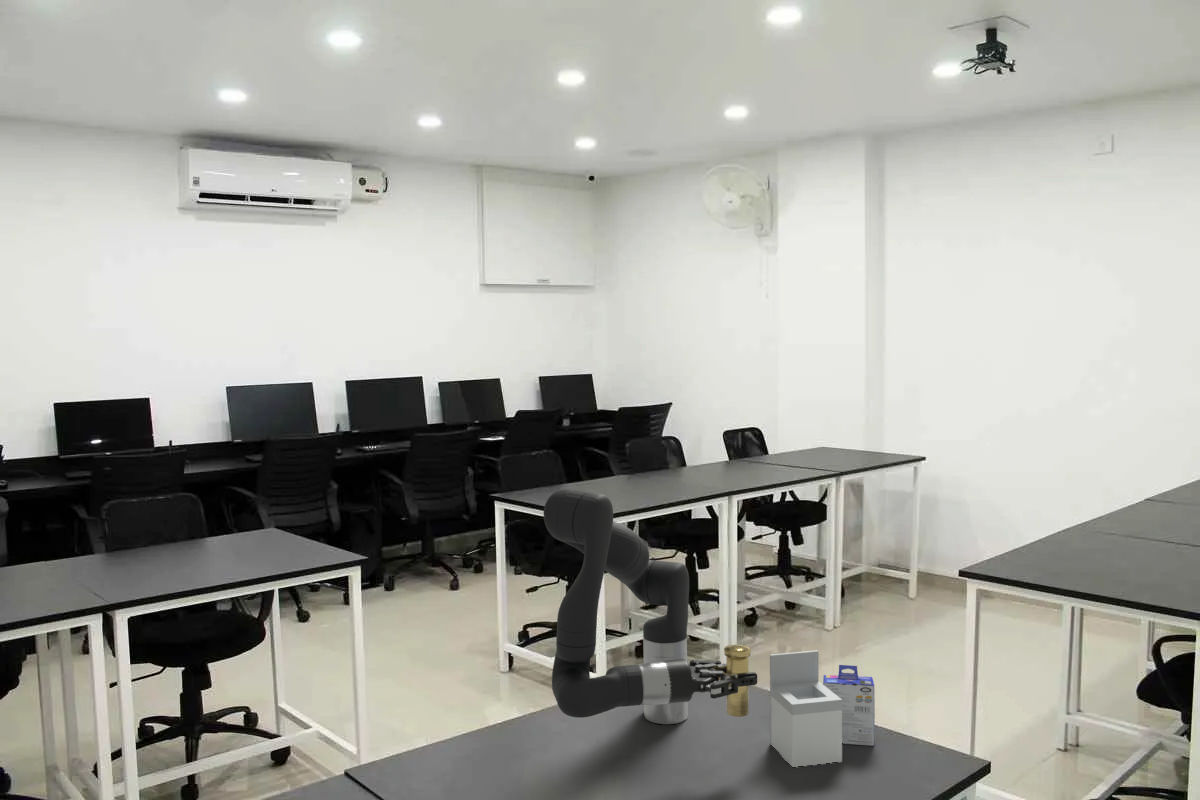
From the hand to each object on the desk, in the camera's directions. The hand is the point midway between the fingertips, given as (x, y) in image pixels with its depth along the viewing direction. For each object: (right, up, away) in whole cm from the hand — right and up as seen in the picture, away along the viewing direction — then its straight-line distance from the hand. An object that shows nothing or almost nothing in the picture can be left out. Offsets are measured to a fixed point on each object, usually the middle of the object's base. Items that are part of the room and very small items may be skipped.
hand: (751, 673), depth 172 cm
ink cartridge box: (+21, -17, +13) cm, 30 cm away
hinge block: (+11, -17, +6) cm, 22 cm away
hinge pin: (-3, -7, 0) cm, 8 cm away
